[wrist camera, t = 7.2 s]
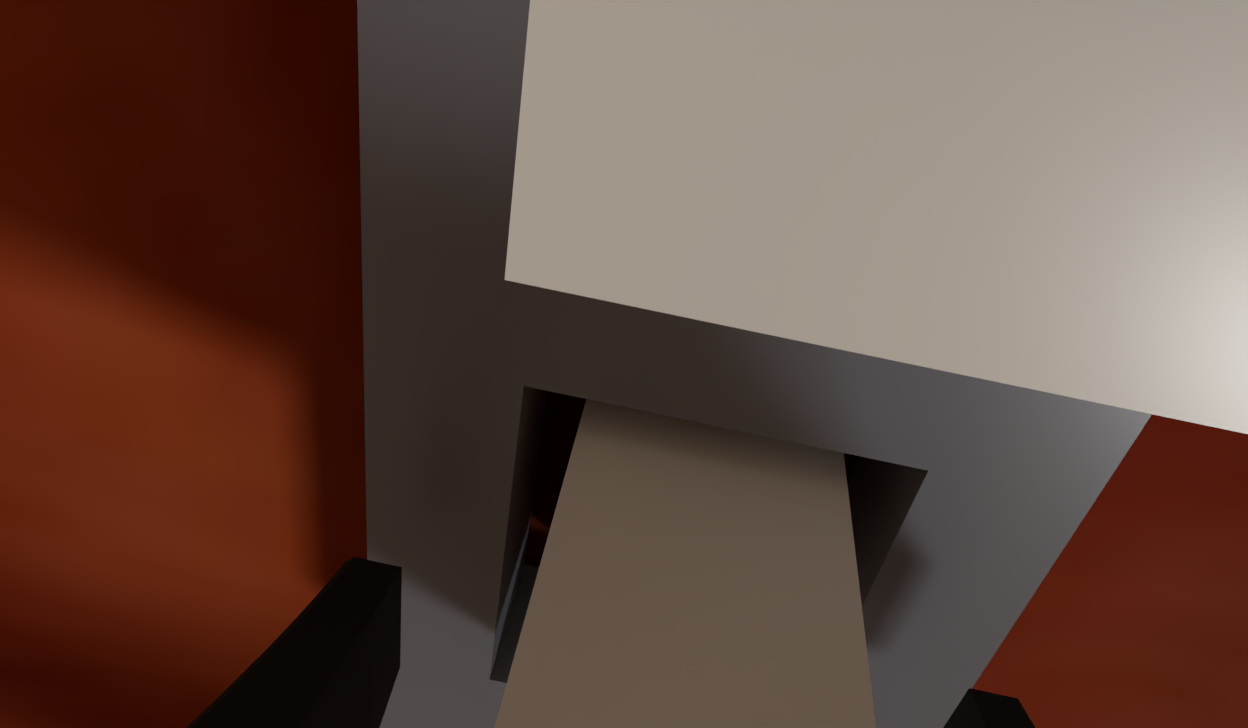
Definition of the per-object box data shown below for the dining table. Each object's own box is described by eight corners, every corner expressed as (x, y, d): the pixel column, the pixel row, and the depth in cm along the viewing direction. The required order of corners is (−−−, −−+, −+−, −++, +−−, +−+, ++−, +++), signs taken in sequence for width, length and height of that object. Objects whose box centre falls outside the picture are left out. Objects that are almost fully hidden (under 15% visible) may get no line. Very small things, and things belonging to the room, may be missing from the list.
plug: (763, 579, 16) (763, 1168, 9) (571, 539, 16) (433, 1096, 9) (834, 378, 13) (908, 1001, 6) (604, 333, 13) (444, 902, 6)
